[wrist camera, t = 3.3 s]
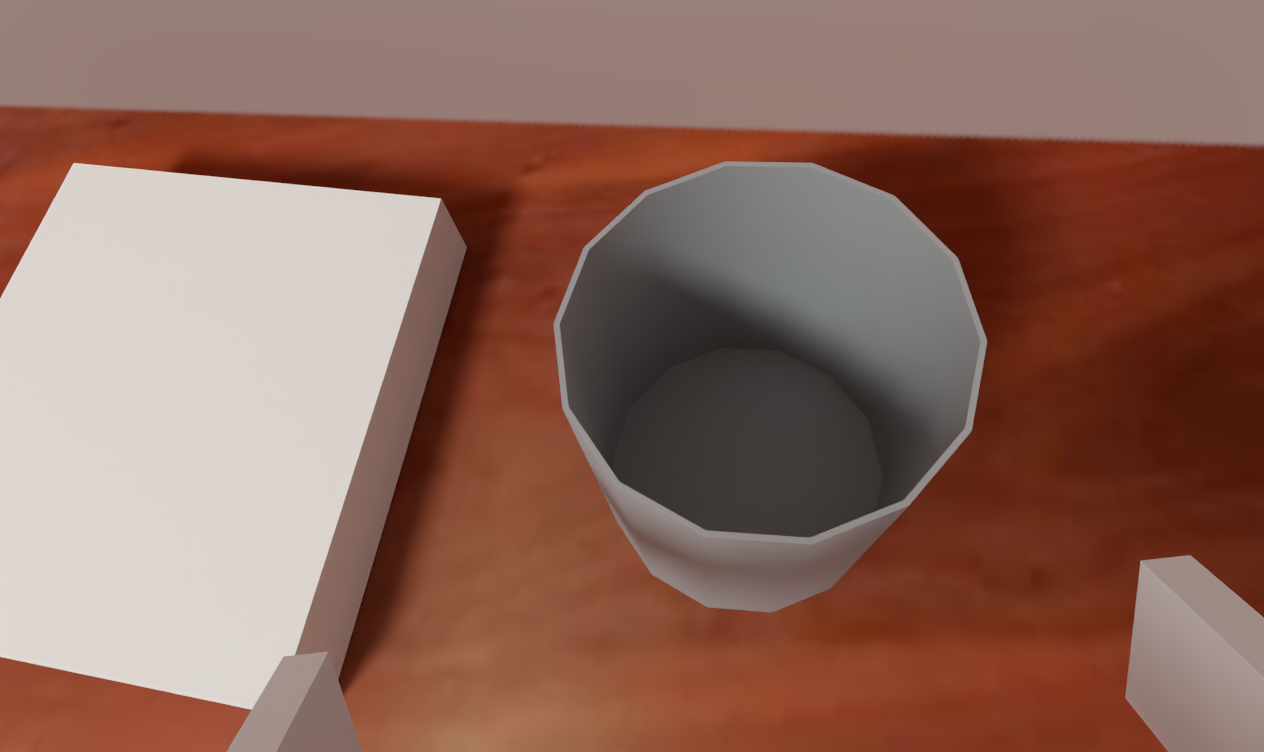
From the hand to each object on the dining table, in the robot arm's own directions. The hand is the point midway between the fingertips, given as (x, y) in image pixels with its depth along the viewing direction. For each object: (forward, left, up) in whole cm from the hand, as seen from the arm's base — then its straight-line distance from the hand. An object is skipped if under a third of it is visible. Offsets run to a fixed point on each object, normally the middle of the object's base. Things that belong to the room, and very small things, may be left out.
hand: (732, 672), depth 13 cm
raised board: (+18, -5, -10) cm, 22 cm away
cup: (0, -6, -10) cm, 12 cm away
